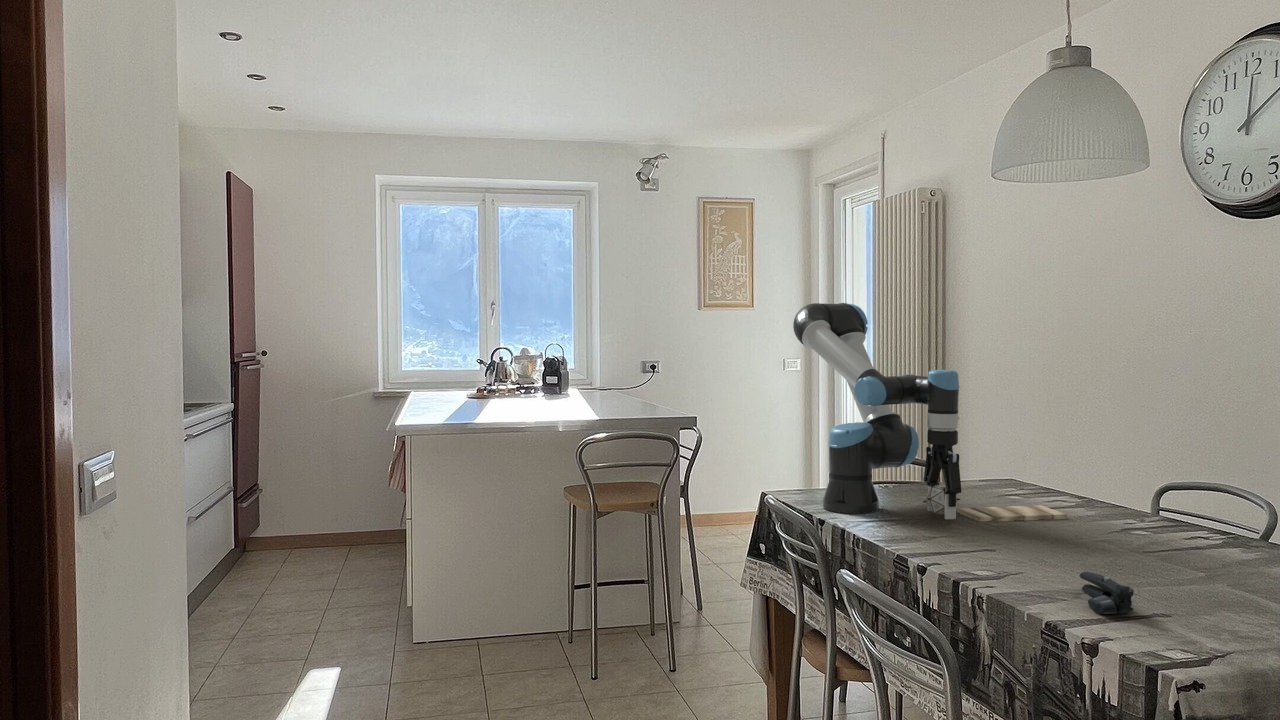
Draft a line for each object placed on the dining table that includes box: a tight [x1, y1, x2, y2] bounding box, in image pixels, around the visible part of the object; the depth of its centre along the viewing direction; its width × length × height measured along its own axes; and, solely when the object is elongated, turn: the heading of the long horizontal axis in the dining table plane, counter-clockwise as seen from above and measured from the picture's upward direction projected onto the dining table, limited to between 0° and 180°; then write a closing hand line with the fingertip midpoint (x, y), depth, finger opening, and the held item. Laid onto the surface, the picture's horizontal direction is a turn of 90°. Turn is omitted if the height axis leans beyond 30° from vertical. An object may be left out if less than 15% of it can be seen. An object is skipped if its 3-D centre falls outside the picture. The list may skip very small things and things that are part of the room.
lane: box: [956, 504, 1068, 522], centre depth 230 cm, size 24×12×1 cm, turn 97°
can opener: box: [1079, 571, 1135, 615], centre depth 156 cm, size 18×7×6 cm, turn 170°
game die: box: [922, 484, 962, 517], centre depth 227 cm, size 9×8×10 cm
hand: (941, 514), depth 228 cm, fingers closed on game die, 9 cm apart
